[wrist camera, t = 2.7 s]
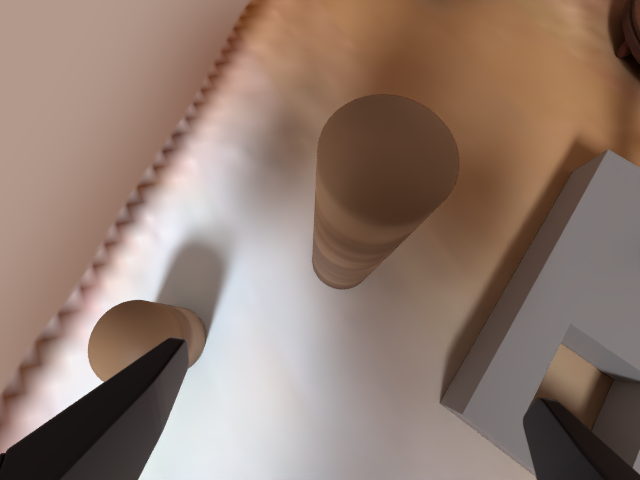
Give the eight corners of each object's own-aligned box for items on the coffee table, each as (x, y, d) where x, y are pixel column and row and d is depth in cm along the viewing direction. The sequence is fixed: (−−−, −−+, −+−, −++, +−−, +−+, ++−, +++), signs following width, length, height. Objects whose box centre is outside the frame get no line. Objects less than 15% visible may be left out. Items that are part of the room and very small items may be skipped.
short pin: (152, 386, 19) (101, 403, 15) (132, 324, 20) (78, 322, 16) (215, 355, 20) (185, 362, 15) (193, 297, 21) (158, 286, 16)
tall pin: (328, 299, 21) (359, 245, 8) (302, 246, 22) (293, 123, 9) (381, 273, 22) (487, 185, 9) (353, 223, 23) (413, 77, 10)
